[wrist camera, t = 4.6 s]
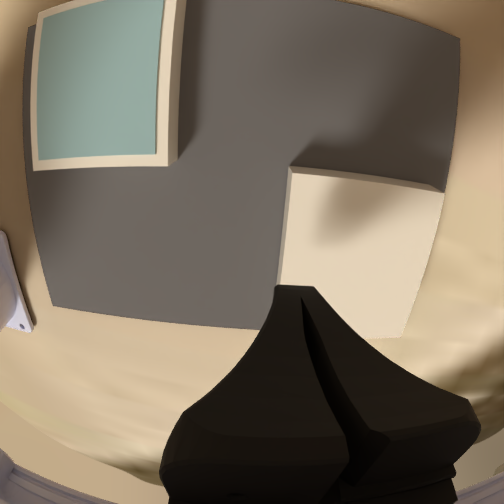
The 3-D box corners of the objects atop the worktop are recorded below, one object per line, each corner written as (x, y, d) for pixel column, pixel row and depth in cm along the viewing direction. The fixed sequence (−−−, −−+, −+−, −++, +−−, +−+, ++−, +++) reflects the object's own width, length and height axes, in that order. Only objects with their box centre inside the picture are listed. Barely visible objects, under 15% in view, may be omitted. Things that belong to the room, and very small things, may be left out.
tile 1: (51, 163, 13) (32, 171, 12) (56, 17, 10) (37, 11, 8) (177, 159, 13) (167, 166, 12) (187, -8, 10) (178, -21, 8)
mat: (56, 301, 18) (52, 305, 17) (33, 28, 10) (28, 27, 10) (399, 326, 18) (402, 331, 17) (454, 39, 10) (460, 38, 10)
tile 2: (273, 336, 15) (400, 337, 15) (292, 172, 12) (445, 193, 12) (272, 316, 17) (391, 318, 17) (288, 165, 13) (427, 183, 13)
